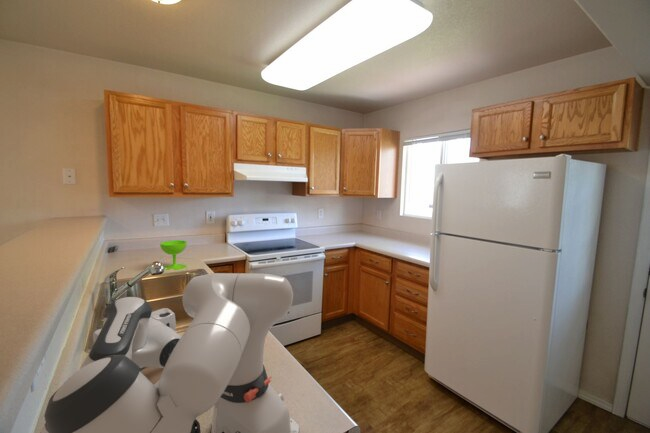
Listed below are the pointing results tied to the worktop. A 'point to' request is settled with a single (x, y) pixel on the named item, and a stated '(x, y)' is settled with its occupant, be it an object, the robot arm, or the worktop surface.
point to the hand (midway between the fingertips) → (126, 319)
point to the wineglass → (174, 252)
